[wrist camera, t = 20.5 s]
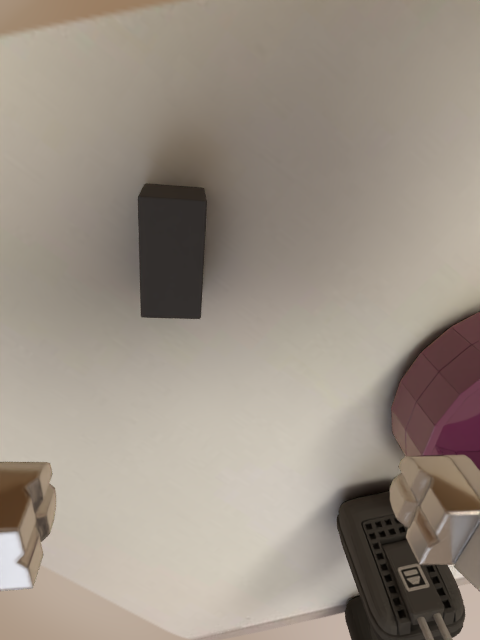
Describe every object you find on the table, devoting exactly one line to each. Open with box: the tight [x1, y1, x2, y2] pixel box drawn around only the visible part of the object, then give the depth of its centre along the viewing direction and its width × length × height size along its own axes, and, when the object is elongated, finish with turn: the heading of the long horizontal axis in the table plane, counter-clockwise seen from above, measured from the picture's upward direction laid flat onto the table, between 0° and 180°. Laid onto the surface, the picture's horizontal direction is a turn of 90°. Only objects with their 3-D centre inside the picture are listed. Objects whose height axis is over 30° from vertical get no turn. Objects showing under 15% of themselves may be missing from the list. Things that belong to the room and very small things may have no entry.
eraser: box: [138, 184, 207, 319], centre depth 21 cm, size 6×3×3 cm, turn 175°
